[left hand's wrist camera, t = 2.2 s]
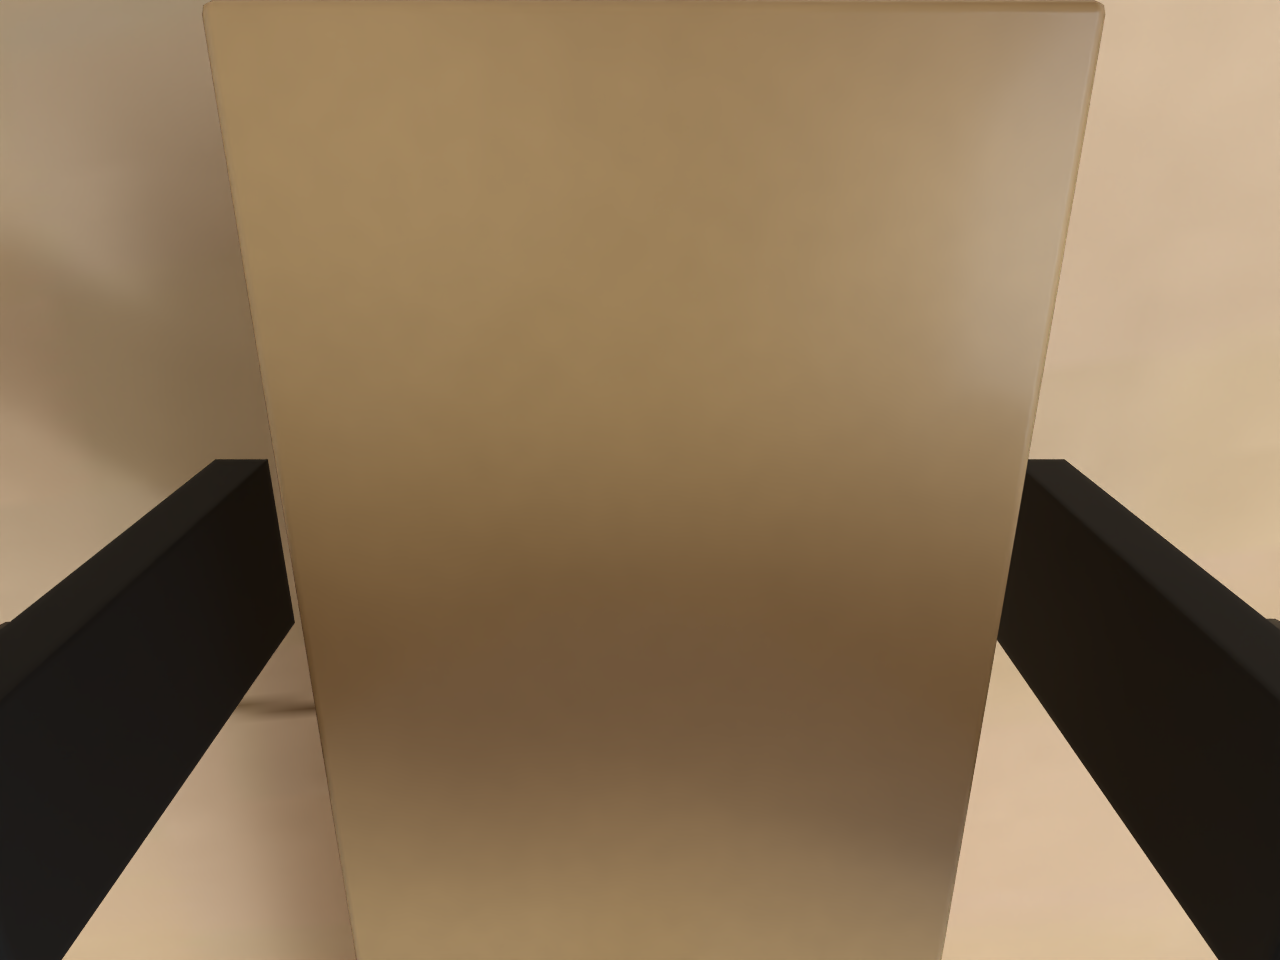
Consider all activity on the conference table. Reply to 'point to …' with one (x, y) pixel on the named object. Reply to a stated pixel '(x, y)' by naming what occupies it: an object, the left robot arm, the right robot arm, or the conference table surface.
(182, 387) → the conference table surface
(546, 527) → the post
